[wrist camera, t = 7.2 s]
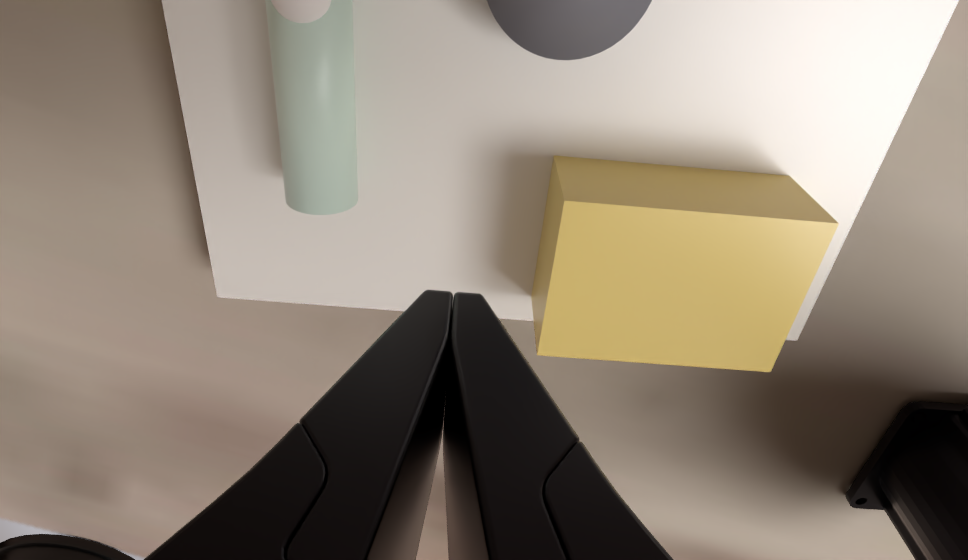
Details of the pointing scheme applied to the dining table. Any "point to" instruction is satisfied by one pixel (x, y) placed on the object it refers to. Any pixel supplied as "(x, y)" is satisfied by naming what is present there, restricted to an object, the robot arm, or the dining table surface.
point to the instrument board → (548, 157)
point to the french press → (56, 549)
